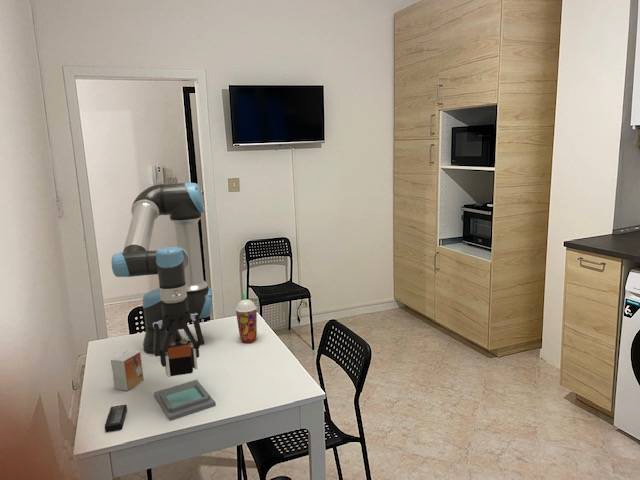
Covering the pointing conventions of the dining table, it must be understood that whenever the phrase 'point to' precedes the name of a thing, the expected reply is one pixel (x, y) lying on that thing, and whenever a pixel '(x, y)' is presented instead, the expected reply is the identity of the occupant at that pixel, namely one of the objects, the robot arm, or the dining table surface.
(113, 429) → the multiport hub
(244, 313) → the smoothie
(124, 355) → the small box
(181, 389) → the dock
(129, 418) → the dining table surface
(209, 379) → the dining table surface
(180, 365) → the battery
